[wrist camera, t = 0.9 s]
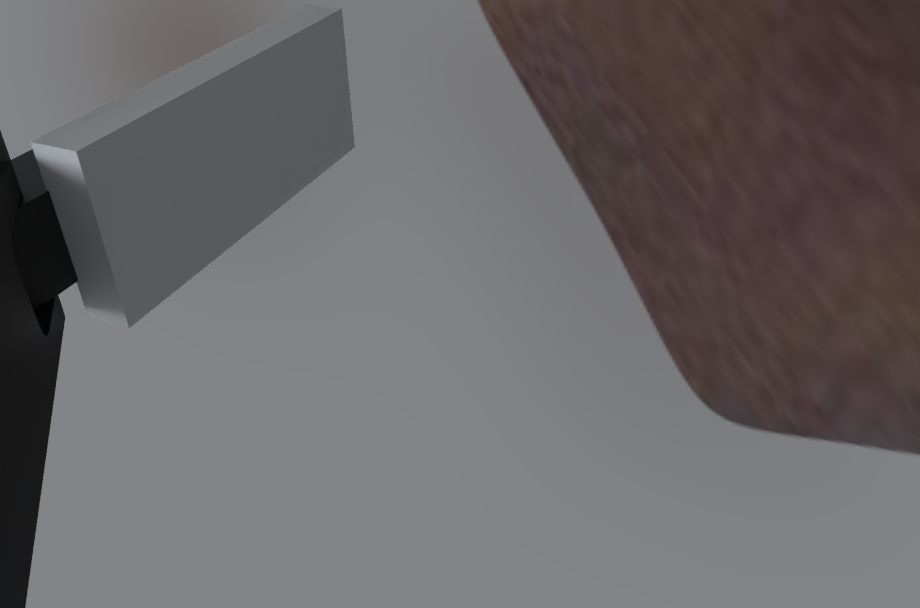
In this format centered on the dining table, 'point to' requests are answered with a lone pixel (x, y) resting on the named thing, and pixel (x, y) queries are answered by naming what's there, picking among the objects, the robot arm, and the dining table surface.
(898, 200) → the dining table surface
